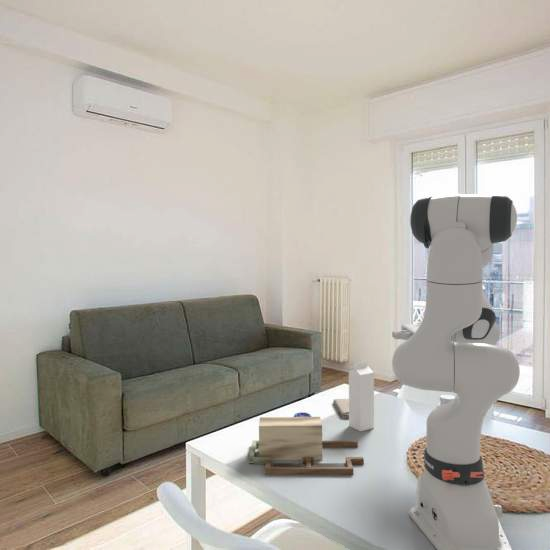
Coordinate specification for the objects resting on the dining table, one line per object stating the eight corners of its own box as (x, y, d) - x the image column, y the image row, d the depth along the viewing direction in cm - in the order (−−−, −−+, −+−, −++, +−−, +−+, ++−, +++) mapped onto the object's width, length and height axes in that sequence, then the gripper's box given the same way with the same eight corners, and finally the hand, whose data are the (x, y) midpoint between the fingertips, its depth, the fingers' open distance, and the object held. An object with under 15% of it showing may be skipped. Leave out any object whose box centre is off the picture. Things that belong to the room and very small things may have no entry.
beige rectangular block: (322, 459, 130) (322, 425, 129) (259, 460, 130) (258, 426, 129) (320, 449, 137) (319, 416, 136) (260, 450, 137) (259, 417, 136)
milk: (348, 426, 154) (347, 361, 154) (362, 422, 157) (361, 359, 157) (360, 432, 149) (359, 365, 148) (374, 428, 152) (373, 363, 151)
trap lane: (367, 474, 120) (367, 469, 120) (247, 474, 121) (246, 468, 121) (357, 445, 139) (357, 440, 139) (252, 445, 140) (252, 440, 140)
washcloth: (342, 420, 161) (342, 412, 161) (332, 404, 179) (331, 396, 178) (375, 419, 162) (375, 410, 162) (361, 402, 180) (361, 395, 180)
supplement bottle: (460, 441, 141) (460, 400, 140) (438, 440, 142) (438, 399, 141) (456, 433, 147) (456, 394, 147) (435, 431, 148) (435, 393, 148)
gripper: (429, 319, 145) (385, 319, 146) (452, 330, 125) (401, 330, 125) (429, 338, 146) (385, 339, 146) (451, 352, 125) (401, 353, 126)
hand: (393, 335), depth 136 cm, fingers closed
